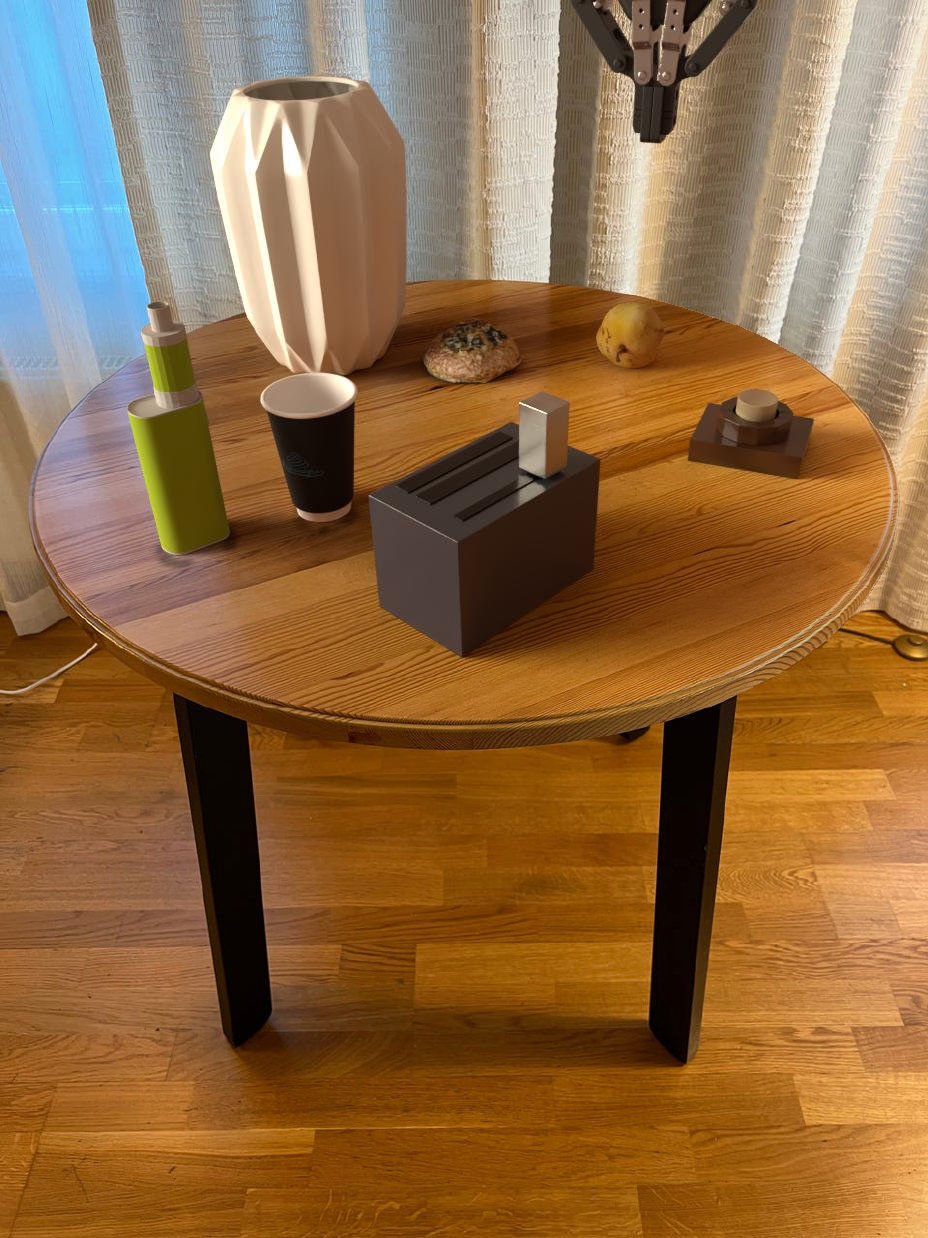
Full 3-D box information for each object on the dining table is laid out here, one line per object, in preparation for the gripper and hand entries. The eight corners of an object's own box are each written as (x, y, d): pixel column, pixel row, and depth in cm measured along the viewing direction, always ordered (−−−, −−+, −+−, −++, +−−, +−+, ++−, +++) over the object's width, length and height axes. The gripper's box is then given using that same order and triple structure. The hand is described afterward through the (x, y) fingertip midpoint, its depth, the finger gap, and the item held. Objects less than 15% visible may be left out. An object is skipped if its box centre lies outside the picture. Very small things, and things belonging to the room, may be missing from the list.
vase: (215, 351, 118) (166, 87, 101) (359, 309, 126) (335, 60, 110) (298, 410, 105) (257, 120, 88) (451, 359, 114) (440, 87, 97)
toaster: (462, 658, 73) (457, 541, 67) (379, 606, 78) (368, 493, 72) (593, 569, 82) (600, 457, 75) (511, 527, 87) (511, 419, 80)
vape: (238, 534, 87) (193, 305, 75) (172, 559, 84) (115, 326, 72) (219, 516, 89) (172, 291, 77) (154, 539, 87) (96, 310, 74)
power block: (810, 439, 97) (818, 400, 95) (797, 479, 92) (805, 439, 89) (705, 422, 101) (710, 385, 98) (687, 460, 95) (692, 421, 92)
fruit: (651, 336, 103) (686, 301, 110) (591, 309, 105) (629, 276, 112) (631, 393, 108) (665, 356, 115) (574, 366, 110) (611, 331, 117)
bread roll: (451, 334, 119) (454, 294, 115) (536, 364, 115) (542, 323, 112) (401, 375, 111) (403, 334, 108) (491, 408, 108) (496, 366, 105)
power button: (778, 409, 95) (781, 392, 94) (771, 426, 92) (775, 408, 91) (739, 403, 96) (741, 386, 95) (731, 420, 93) (734, 402, 92)
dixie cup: (281, 537, 87) (261, 419, 80) (277, 490, 93) (258, 377, 86) (374, 525, 88) (362, 408, 81) (363, 479, 94) (352, 367, 87)
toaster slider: (545, 479, 73) (547, 413, 70) (518, 467, 74) (518, 401, 71) (567, 467, 74) (569, 401, 71) (540, 455, 75) (541, 390, 72)
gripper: (555, -159, 62) (548, 147, 73) (777, -165, 58) (735, 160, 68) (592, -163, 67) (580, 123, 78) (797, -168, 63) (755, 134, 74)
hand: (653, 140), depth 73 cm, fingers closed
